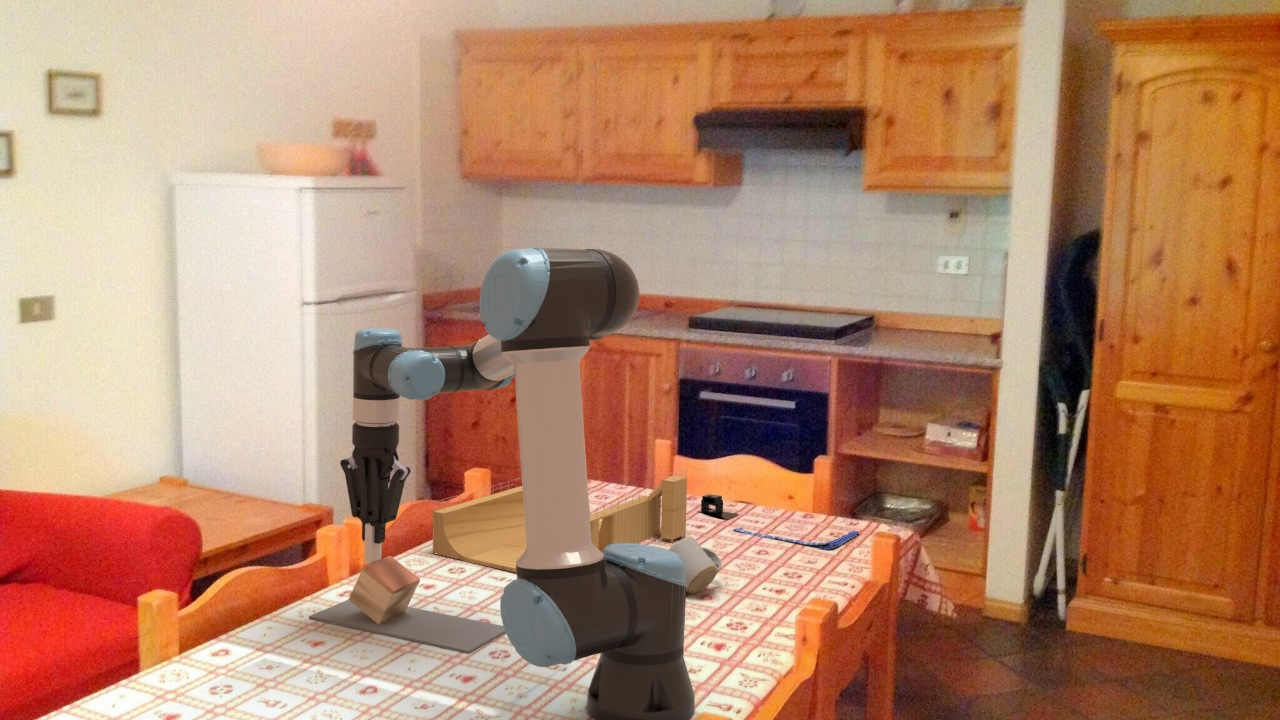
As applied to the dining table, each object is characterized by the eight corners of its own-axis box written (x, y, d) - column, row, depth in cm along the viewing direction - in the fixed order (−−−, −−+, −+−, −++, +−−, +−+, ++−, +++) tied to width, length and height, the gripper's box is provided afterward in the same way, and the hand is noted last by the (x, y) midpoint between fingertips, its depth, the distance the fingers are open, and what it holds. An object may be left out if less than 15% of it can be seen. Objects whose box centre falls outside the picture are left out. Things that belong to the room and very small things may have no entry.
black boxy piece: (681, 515, 264) (681, 495, 264) (698, 510, 270) (698, 490, 270) (726, 521, 257) (726, 500, 257) (743, 515, 263) (743, 495, 262)
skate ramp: (551, 518, 262) (552, 449, 260) (685, 543, 243) (687, 469, 241) (432, 558, 228) (432, 479, 226) (577, 591, 209) (579, 505, 208)
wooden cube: (378, 624, 187) (394, 590, 185) (348, 599, 189) (363, 565, 187) (405, 612, 193) (420, 579, 191) (375, 588, 196) (390, 555, 194)
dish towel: (830, 557, 235) (831, 544, 235) (730, 538, 249) (730, 525, 248) (863, 540, 250) (864, 527, 249) (767, 522, 263) (767, 510, 262)
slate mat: (469, 653, 176) (469, 650, 176) (309, 618, 190) (308, 616, 190) (510, 629, 187) (510, 627, 187) (356, 598, 201) (356, 596, 201)
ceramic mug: (687, 603, 208) (692, 579, 202) (658, 572, 212) (663, 548, 206) (730, 574, 213) (736, 551, 207) (702, 545, 217) (707, 520, 212)
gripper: (422, 423, 188) (418, 561, 191) (359, 414, 194) (357, 548, 197) (393, 430, 182) (390, 573, 185) (329, 420, 187) (327, 559, 190)
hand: (373, 560), depth 191 cm, fingers closed
